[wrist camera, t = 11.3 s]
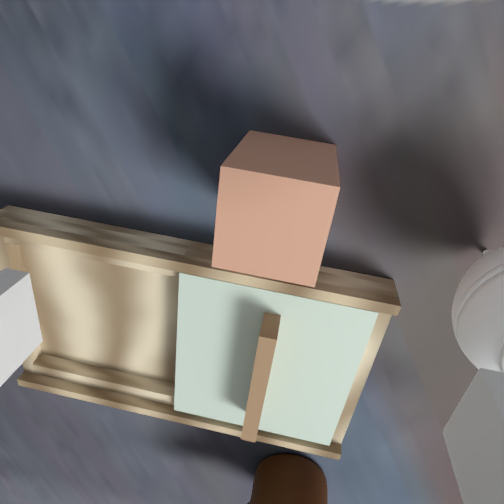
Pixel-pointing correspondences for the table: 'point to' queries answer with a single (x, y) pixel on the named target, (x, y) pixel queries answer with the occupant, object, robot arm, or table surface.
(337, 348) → the lid
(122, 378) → the beige flat rectangular tray
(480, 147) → the table surface
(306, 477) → the mug
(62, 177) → the table surface
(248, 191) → the block
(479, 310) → the spinning top
